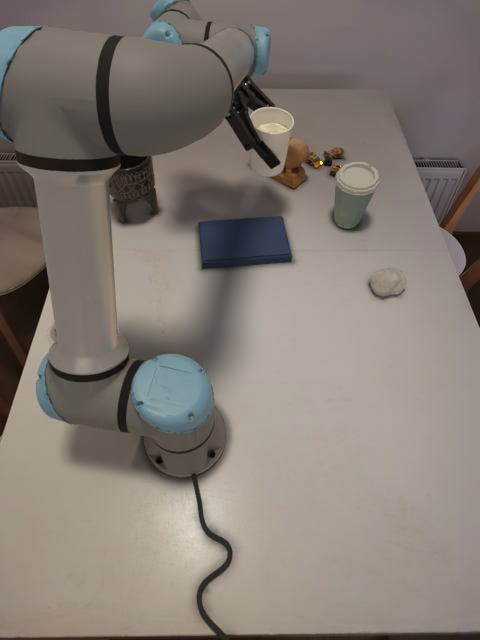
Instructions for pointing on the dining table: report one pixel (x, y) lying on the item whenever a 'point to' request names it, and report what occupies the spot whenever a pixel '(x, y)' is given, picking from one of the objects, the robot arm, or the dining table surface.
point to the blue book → (243, 242)
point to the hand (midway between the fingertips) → (281, 153)
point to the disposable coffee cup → (353, 192)
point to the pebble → (388, 281)
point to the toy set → (327, 159)
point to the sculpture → (294, 164)
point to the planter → (133, 184)
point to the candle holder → (271, 138)
